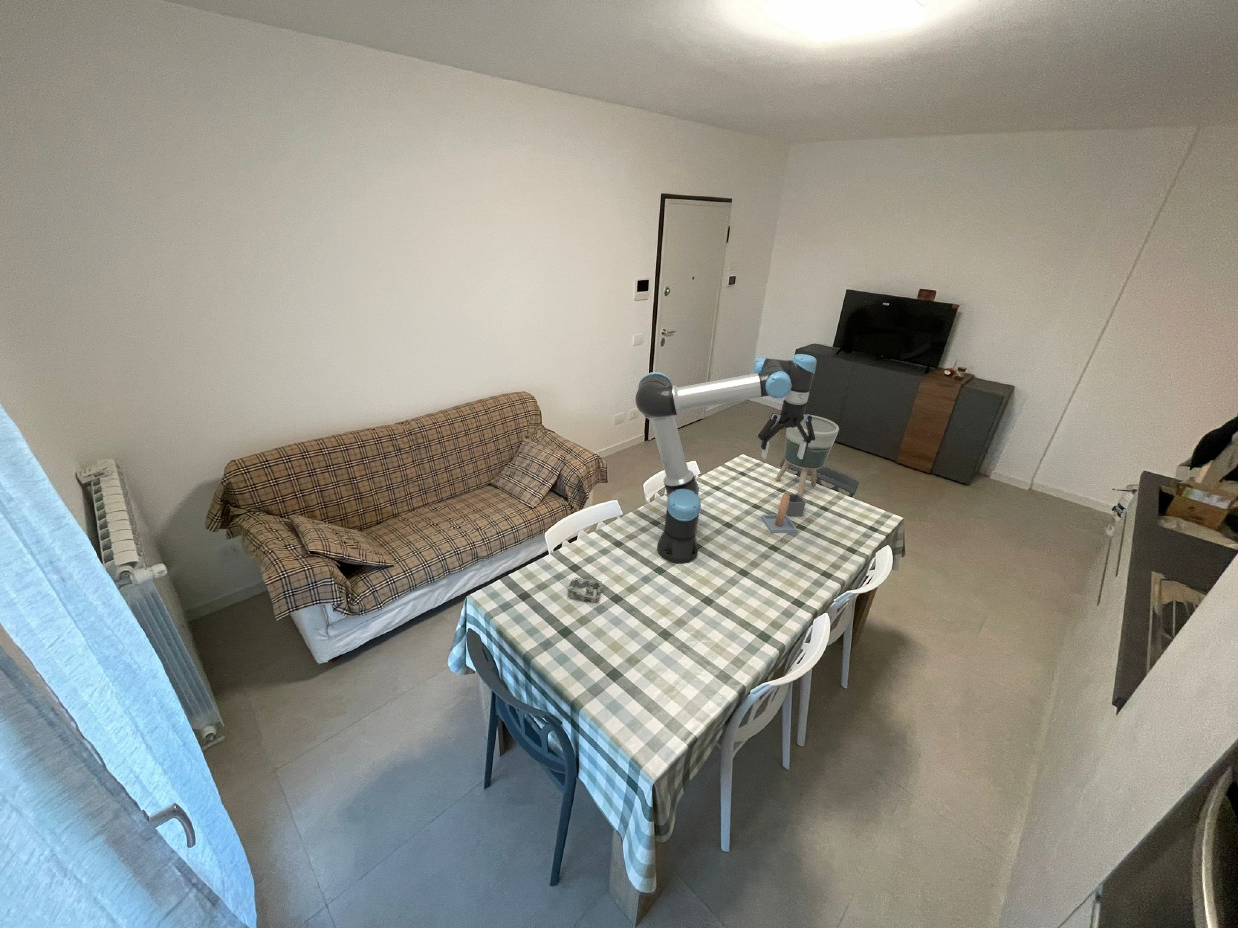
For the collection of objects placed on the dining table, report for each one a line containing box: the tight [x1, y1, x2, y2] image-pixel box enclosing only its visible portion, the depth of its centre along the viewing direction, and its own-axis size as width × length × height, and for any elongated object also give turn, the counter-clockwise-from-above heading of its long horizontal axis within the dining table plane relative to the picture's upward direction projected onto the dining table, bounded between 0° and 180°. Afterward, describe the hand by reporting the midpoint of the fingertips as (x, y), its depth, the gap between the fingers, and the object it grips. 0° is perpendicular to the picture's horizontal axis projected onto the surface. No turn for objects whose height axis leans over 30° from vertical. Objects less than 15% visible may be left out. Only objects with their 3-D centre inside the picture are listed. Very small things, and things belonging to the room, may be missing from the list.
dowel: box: [775, 493, 790, 527], centre depth 200 cm, size 3×3×14 cm
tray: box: [760, 514, 799, 534], centre depth 203 cm, size 11×11×2 cm
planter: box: [774, 414, 840, 499], centre depth 226 cm, size 22×22×33 cm
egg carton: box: [567, 576, 603, 603], centre depth 160 cm, size 11×8×4 cm
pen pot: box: [785, 493, 806, 518], centre depth 211 cm, size 7×7×8 cm
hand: (781, 457), depth 176 cm, fingers open, 13 cm apart
